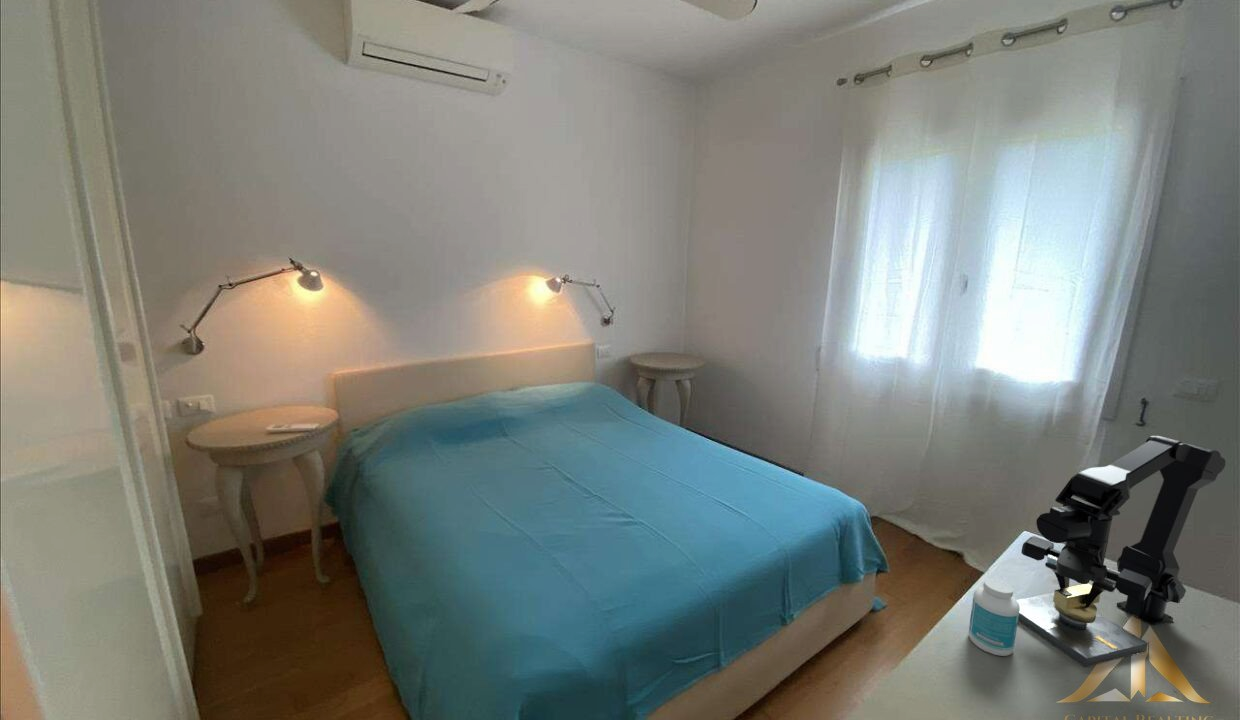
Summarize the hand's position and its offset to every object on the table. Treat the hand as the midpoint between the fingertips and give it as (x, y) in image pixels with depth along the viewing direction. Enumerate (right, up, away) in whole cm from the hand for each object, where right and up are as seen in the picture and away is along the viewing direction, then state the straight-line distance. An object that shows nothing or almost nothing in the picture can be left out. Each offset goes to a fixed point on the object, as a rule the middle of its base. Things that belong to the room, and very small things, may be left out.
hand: (1075, 601), depth 100 cm
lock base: (0, -7, +1) cm, 7 cm away
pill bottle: (-20, -8, -2) cm, 21 cm away
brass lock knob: (0, -2, 0) cm, 3 cm away
